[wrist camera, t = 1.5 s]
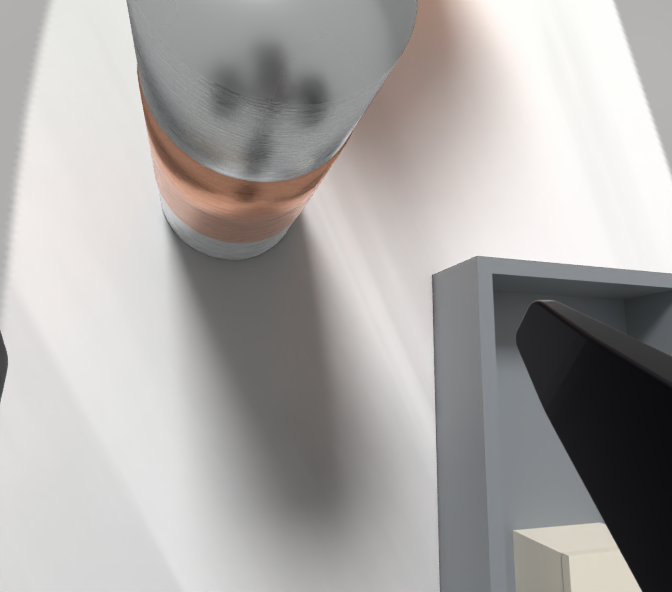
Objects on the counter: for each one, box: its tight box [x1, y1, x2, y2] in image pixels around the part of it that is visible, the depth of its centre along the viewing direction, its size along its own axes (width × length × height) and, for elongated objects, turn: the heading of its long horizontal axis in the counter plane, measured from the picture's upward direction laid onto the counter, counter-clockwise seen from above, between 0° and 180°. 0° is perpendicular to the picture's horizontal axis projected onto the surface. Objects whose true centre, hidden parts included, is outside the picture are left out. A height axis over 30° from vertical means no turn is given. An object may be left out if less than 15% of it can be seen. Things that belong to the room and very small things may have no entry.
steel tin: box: [127, 0, 417, 260], centre depth 16 cm, size 6×6×13 cm
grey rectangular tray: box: [432, 256, 672, 592], centre depth 22 cm, size 20×12×4 cm, turn 0°
